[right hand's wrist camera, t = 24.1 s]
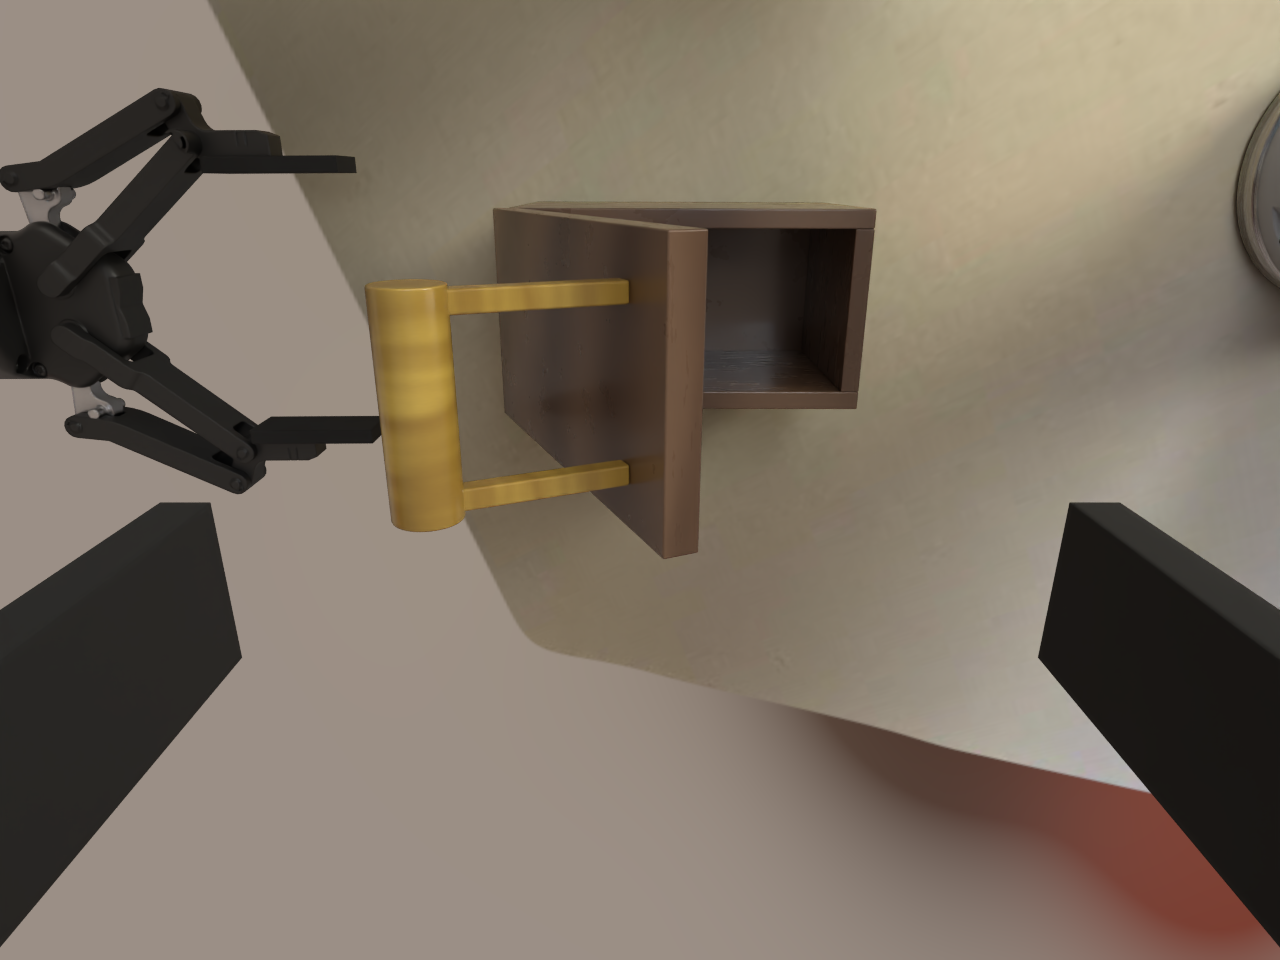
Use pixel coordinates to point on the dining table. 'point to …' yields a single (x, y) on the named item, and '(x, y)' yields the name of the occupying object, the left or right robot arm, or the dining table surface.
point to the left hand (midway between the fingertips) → (364, 304)
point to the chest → (772, 296)
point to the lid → (557, 373)
